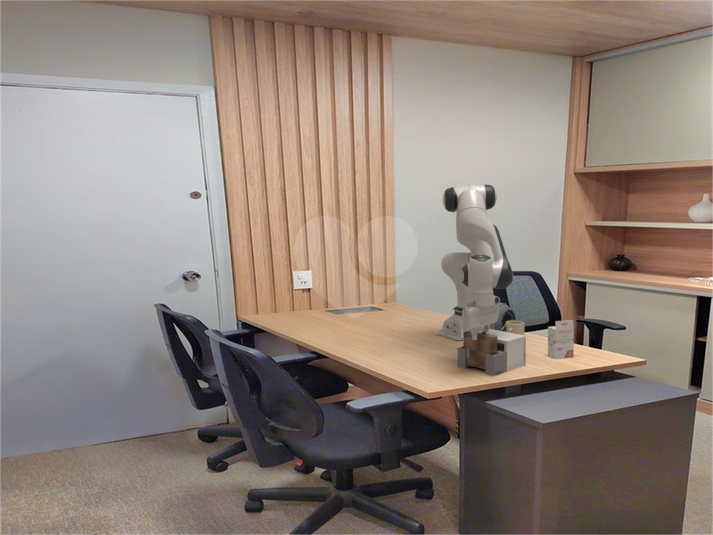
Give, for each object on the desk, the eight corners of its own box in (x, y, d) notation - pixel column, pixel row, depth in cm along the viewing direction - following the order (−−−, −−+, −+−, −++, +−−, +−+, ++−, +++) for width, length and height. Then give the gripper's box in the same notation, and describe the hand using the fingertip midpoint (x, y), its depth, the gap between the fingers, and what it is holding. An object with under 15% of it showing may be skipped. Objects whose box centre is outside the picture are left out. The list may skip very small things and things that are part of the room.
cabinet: (457, 366, 190) (457, 337, 189) (489, 356, 202) (489, 328, 201) (494, 375, 177) (494, 344, 176) (525, 364, 190) (525, 335, 189)
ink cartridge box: (565, 353, 204) (566, 317, 203) (573, 357, 199) (574, 319, 198) (546, 355, 202) (547, 319, 200) (554, 358, 197) (555, 321, 196)
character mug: (512, 349, 211) (512, 318, 210) (528, 352, 206) (529, 321, 205) (500, 355, 203) (500, 323, 202) (517, 358, 198) (517, 325, 197)
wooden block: (461, 364, 188) (462, 332, 186) (467, 362, 191) (467, 331, 189) (491, 371, 179) (491, 337, 178) (496, 368, 182) (497, 335, 181)
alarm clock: (500, 348, 214) (501, 306, 213) (481, 343, 222) (481, 303, 220) (519, 342, 223) (520, 302, 222) (500, 338, 231) (501, 299, 229)
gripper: (472, 305, 173) (472, 345, 175) (502, 297, 188) (501, 334, 189) (456, 303, 178) (456, 342, 179) (487, 295, 192) (486, 331, 194)
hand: (480, 338), depth 184 cm, fingers open, 5 cm apart
